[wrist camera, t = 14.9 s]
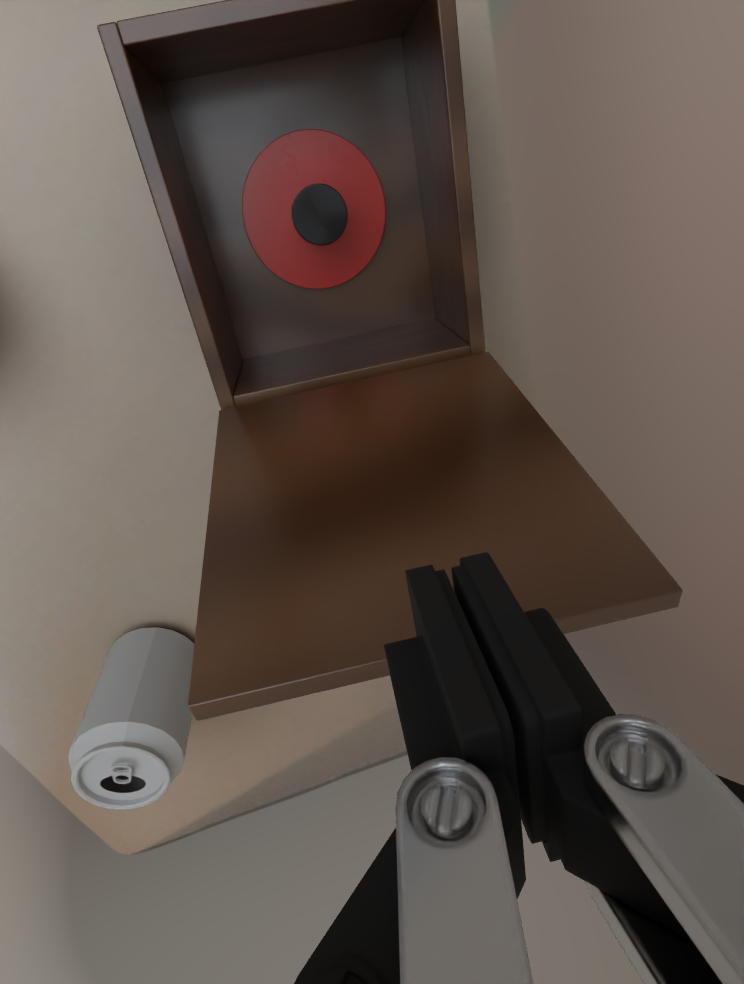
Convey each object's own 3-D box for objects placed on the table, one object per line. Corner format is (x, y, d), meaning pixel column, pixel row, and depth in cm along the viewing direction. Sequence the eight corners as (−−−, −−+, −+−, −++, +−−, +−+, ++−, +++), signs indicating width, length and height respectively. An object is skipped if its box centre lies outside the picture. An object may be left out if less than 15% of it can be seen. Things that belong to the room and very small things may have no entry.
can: (110, 685, 49) (61, 819, 38) (110, 616, 45) (56, 742, 35) (200, 689, 50) (176, 818, 39) (206, 622, 47) (182, 744, 36)
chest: (145, 71, 30) (95, 24, 22) (410, 19, 31) (452, -44, 23) (235, 370, 38) (222, 413, 30) (445, 325, 38) (485, 356, 31)
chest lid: (186, 707, 16) (196, 722, 16) (684, 590, 16) (679, 607, 17) (219, 409, 29) (223, 422, 30) (488, 351, 30) (488, 364, 30)
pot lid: (318, 93, 31) (325, 69, 25) (411, 221, 34) (435, 225, 29) (211, 204, 33) (197, 204, 27) (311, 316, 36) (315, 335, 31)
